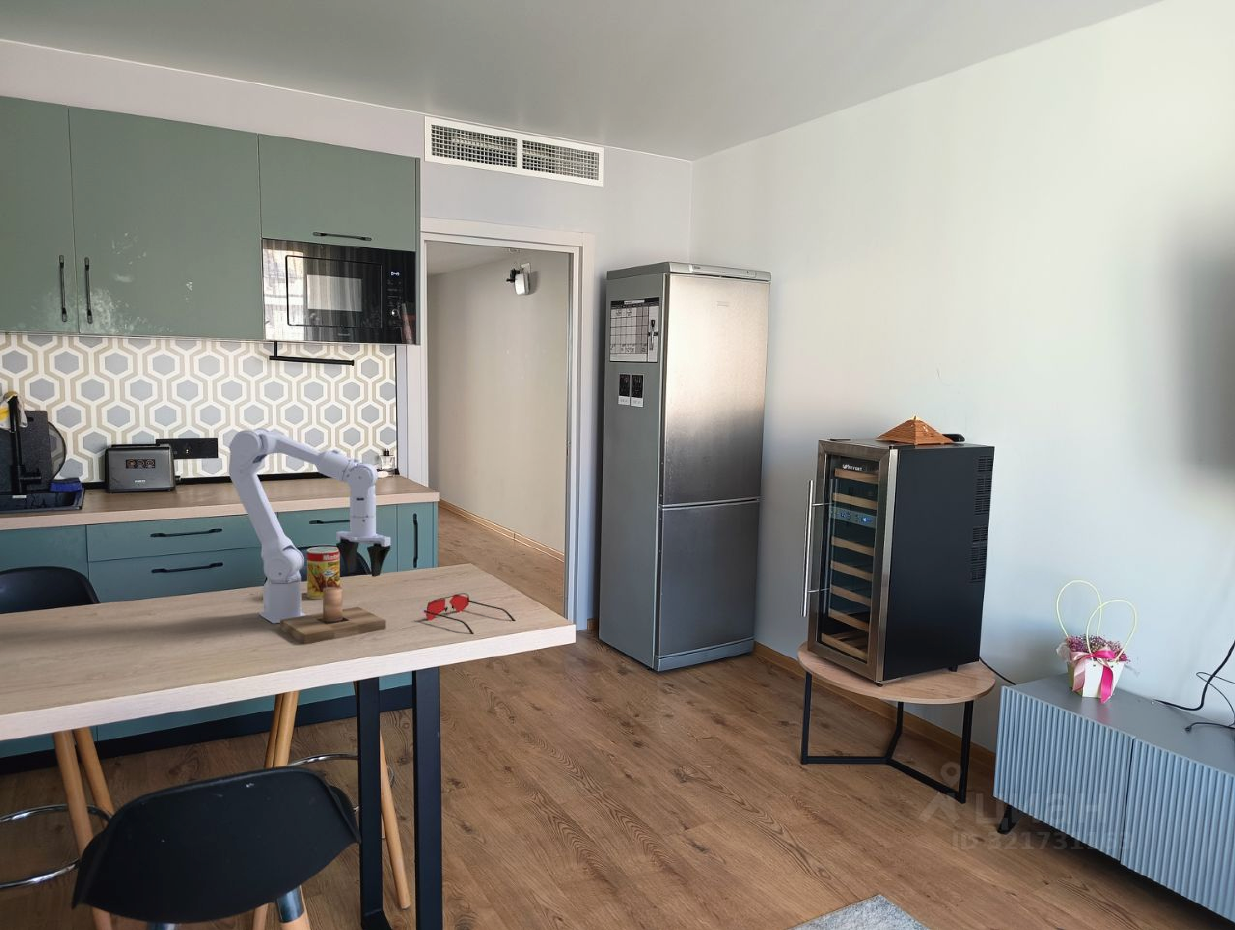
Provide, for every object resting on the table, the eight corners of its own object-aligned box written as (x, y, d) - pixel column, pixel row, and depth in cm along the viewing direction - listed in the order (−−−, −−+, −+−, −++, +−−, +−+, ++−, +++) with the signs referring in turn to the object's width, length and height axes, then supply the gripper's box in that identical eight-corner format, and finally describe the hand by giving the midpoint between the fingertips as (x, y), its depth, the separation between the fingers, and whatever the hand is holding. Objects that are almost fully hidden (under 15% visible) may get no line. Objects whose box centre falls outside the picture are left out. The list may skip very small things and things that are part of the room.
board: (280, 628, 180) (280, 619, 180) (357, 614, 192) (357, 606, 192) (305, 644, 170) (305, 634, 170) (385, 628, 182) (385, 619, 182)
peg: (319, 628, 181) (319, 588, 181) (338, 624, 184) (338, 585, 183) (327, 632, 178) (327, 592, 177) (345, 629, 181) (345, 589, 180)
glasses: (466, 610, 201) (466, 590, 200) (516, 622, 191) (516, 601, 191) (422, 622, 189) (422, 601, 189) (472, 636, 180) (472, 613, 179)
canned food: (333, 599, 205) (333, 552, 204) (302, 599, 205) (301, 552, 204) (344, 592, 213) (343, 546, 212) (314, 591, 213) (313, 546, 212)
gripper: (326, 515, 188) (326, 573, 189) (375, 520, 181) (375, 581, 183) (348, 511, 194) (349, 567, 195) (396, 516, 188) (396, 575, 189)
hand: (363, 573), depth 189 cm, fingers open, 7 cm apart
